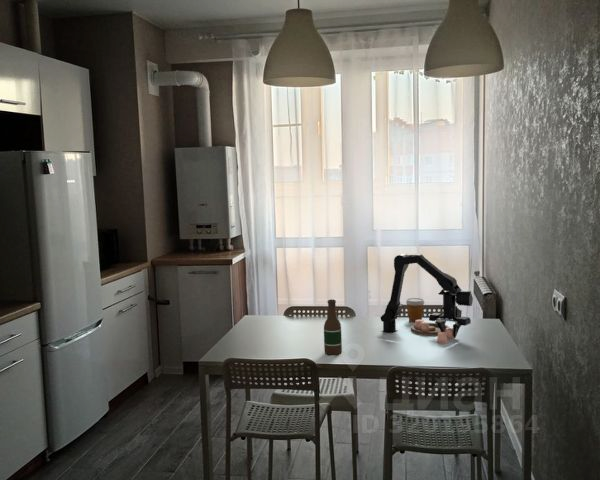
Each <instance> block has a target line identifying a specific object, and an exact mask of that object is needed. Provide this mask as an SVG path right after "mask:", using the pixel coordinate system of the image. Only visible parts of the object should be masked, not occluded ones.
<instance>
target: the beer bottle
mask: <svg viewBox="0 0 600 480" xmlns="http://www.w3.org/2000/svg"><path fill="white" fill-rule="evenodd" d="M336 303H337V301H336V299H332V298H331V299H328V300H327V306H328V307H327V318H326V320H325V322H324V324H323V342H324V343H323V346H324V348H323V349H324V354H325V355H326V354H327V356H330V355H336V356H340V355H341V354H342V353H343V347H342V345H343V343H342V342H343V338H342V325H341V321H340V320H339V318H338V316H337V306H336ZM339 354H340V355H339Z"/></svg>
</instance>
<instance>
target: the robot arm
mask: <svg viewBox="0 0 600 480" xmlns="http://www.w3.org/2000/svg"><path fill="white" fill-rule="evenodd" d="M412 264H417V265H418V266H419V267H421V268H422V269H423V270H424V271H425V272H427V273H428V274H429V275H430V276H432V278H434V280H436V282H437V283H438V285H439V286H440V287H441V289H440V292H438V295H440V296H441V295H442V306H441V310H442V313H443V314H442V313H440V312H439V313H438V312H433V313H431V314H429V316H428V320H429V321H431V322H434V323H437V325H438V326H439V328H440V330H441V332H445V325H446V322H453V323H454V324H452V328H453V335H454V339H456V338H457V336H458V333H459V330H460V328H461V326H468V325H470V324H471V318H470V317H469V316H462V312H463V311H462V310H461V309H459V308H458V306H464V307H466V306H467V307H471V306H473V301H474V297H473V294H472V291H470V290H462V289H461V287H460V286H459V285H458V282H457V279H456V278H455V277H453V276H452V275H450V274H448V273H445V272H443V271H442V270H441V269H439V268H438V267H437V266H435V265H434V264H433V263H432V262H431V261H429V259H427V258H426V257H425V256H424V255H423V254H421V253H418V254H407V253H401V254H397V255H396V256H395V257H394V258H393V268H394V276H393V277H394V278H393V281H392V282H393V283H392V289H391V294H390V299H389V301H388V303H387V305H386V308H385V310H384V313H383V314H382V315H381V316H380V321H381V322H382V329H383V330H381V331H380V333H386V334H394V333H396V332H399V331H398V330H397V328H396V327H397V326H396V325H397V323H396V320H397V319H398V317H399V316H400V314H401V313H403V307H404V304H403V303H401V295H402V290H403V284H404V279H405V278H404V277H405V274H406V271H407V270H408V268H409V265H412ZM456 304H457V305H456ZM429 321H428V322H429Z"/></svg>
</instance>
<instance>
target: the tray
mask: <svg viewBox="0 0 600 480" xmlns="http://www.w3.org/2000/svg"><path fill="white" fill-rule="evenodd" d="M445 328H451V327H450V326H449V325H447V324H445ZM410 331H411V332H412V333H413V334H416V335H420V336H433V337H434V336H438V333H439V332H441V330H440V328H439V326H438V325H437V323H435V322H429V331H420V330H417V329H415V324H412V325H411V327H410Z"/></svg>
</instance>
